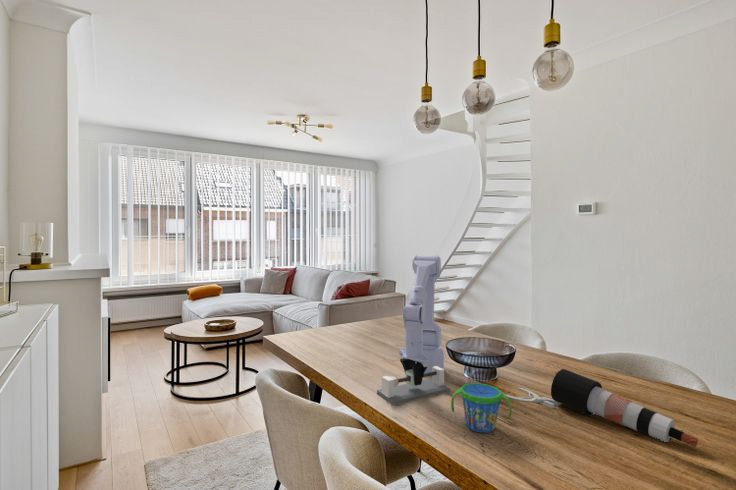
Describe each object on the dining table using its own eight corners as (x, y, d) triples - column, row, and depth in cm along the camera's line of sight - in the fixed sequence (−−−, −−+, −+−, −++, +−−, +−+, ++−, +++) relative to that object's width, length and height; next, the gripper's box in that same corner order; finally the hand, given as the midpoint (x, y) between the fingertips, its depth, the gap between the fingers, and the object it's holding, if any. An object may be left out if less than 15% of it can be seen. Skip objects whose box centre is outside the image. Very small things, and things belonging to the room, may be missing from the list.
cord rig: (431, 381, 140) (431, 363, 140) (449, 391, 131) (450, 372, 131) (377, 393, 129) (377, 373, 129) (393, 405, 121) (393, 384, 120)
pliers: (519, 384, 134) (564, 398, 123) (518, 389, 134) (563, 403, 123) (502, 391, 128) (548, 407, 116) (502, 396, 128) (548, 412, 116)
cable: (689, 472, 94) (688, 442, 90) (553, 407, 121) (548, 382, 118) (704, 442, 99) (703, 413, 95) (570, 386, 126) (566, 362, 122)
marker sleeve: (415, 380, 133) (415, 368, 133) (422, 384, 129) (422, 372, 129) (405, 382, 131) (405, 370, 131) (412, 386, 128) (412, 374, 127)
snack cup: (512, 423, 109) (512, 387, 109) (510, 442, 99) (511, 402, 99) (454, 414, 114) (454, 379, 114) (447, 431, 105) (448, 392, 104)
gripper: (391, 337, 134) (391, 377, 135) (417, 348, 122) (416, 392, 122) (408, 335, 138) (408, 374, 138) (435, 345, 125) (435, 388, 125)
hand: (413, 382), depth 130 cm, fingers closed on marker sleeve, 4 cm apart
